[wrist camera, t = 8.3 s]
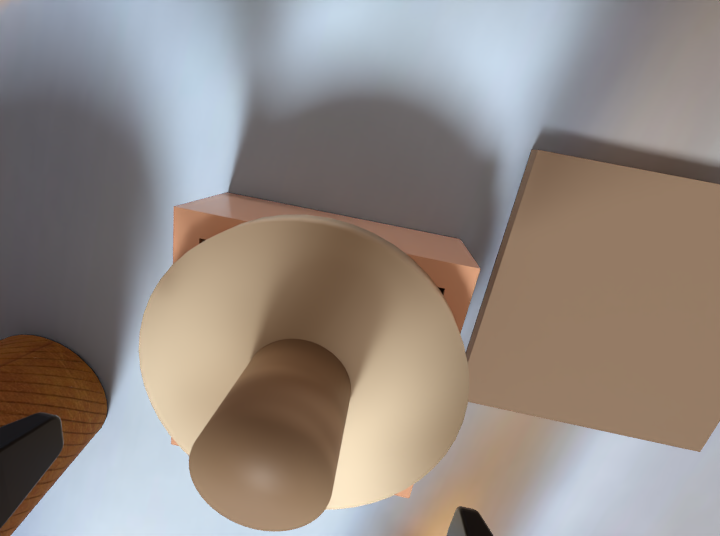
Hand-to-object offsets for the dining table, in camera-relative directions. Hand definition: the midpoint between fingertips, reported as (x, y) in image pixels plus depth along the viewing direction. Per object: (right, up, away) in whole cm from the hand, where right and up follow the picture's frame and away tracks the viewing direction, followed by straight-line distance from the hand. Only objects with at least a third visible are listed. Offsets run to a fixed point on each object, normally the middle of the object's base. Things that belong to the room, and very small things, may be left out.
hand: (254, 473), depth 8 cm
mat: (+12, +3, +6) cm, 14 cm away
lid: (+1, +1, +4) cm, 4 cm away
